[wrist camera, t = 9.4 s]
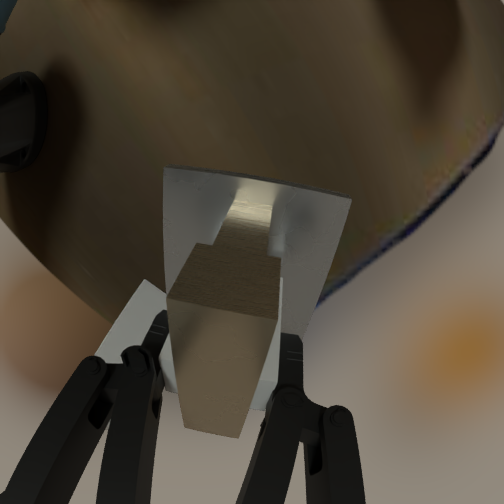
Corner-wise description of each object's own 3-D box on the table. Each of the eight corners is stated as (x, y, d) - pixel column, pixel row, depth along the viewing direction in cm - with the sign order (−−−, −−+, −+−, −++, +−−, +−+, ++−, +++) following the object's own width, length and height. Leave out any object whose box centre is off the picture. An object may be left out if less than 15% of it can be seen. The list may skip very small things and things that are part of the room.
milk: (131, 301, 37) (57, 422, 19) (145, 277, 35) (58, 415, 16) (164, 323, 39) (105, 451, 20) (181, 303, 36) (115, 450, 17)
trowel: (169, 163, 14) (60, 243, 6) (348, 194, 14) (410, 309, 6) (172, 317, 20) (130, 415, 13) (297, 341, 20) (295, 449, 13)
